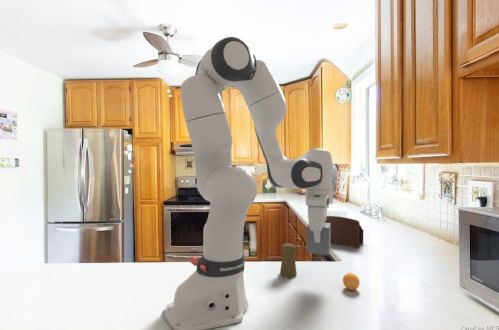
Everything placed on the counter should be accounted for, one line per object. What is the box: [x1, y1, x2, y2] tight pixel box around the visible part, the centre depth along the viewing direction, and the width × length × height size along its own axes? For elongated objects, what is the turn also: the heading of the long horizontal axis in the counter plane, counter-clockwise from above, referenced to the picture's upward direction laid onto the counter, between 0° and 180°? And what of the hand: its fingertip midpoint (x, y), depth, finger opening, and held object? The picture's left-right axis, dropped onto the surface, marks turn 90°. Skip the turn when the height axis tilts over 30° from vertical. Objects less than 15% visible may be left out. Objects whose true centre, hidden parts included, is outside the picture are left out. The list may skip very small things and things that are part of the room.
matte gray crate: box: [306, 223, 331, 256], centre depth 91 cm, size 7×7×9 cm
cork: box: [279, 243, 298, 279], centre depth 98 cm, size 6×6×11 cm
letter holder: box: [325, 215, 364, 249], centre depth 139 cm, size 10×20×14 cm, turn 55°
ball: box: [342, 272, 360, 291], centre depth 87 cm, size 5×5×5 cm
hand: (318, 238), depth 91 cm, fingers closed on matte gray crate, 7 cm apart
